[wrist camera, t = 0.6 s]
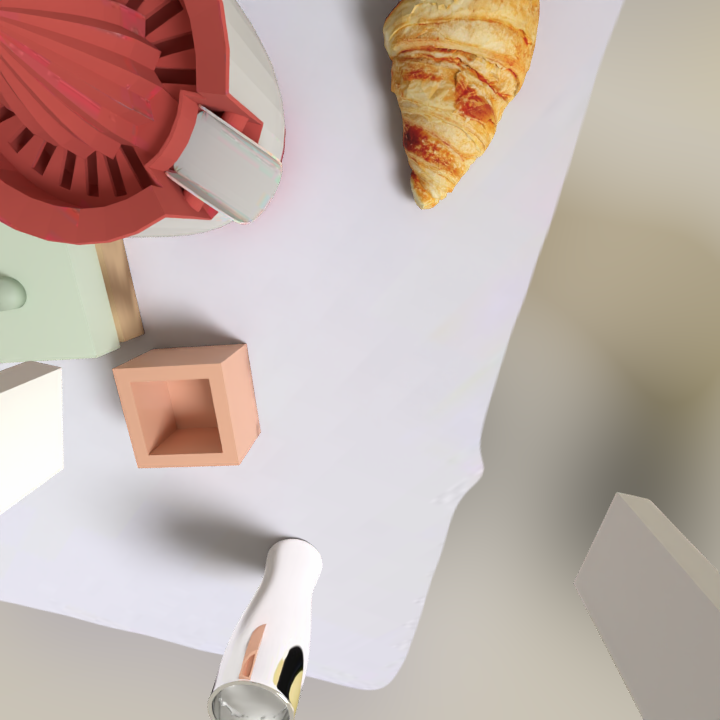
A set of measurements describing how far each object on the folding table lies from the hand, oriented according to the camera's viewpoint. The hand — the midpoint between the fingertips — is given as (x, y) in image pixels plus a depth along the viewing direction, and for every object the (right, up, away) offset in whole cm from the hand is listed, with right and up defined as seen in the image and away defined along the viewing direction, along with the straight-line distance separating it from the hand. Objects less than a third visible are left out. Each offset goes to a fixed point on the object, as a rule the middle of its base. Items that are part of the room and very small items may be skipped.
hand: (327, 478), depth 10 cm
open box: (-14, 0, +30) cm, 33 cm away
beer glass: (-6, -19, +35) cm, 41 cm away
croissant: (+8, +25, +21) cm, 33 cm away
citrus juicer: (-10, +20, +24) cm, 33 cm away
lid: (-26, +9, +25) cm, 37 cm away
